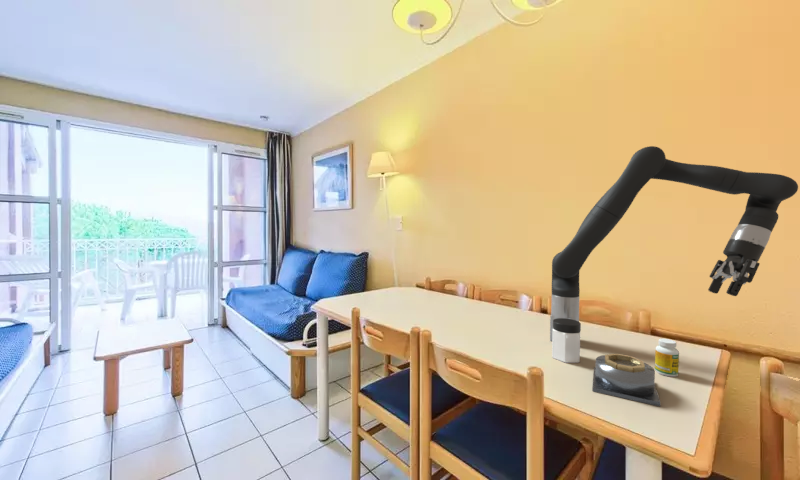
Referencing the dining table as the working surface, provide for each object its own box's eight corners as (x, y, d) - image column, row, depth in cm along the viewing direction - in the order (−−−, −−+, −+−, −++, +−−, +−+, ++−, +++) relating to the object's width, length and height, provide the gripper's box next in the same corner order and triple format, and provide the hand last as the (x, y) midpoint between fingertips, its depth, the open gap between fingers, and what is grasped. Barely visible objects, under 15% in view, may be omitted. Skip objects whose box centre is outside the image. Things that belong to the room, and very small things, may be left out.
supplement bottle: (658, 367, 99) (659, 336, 98) (681, 374, 94) (682, 341, 94) (651, 371, 96) (652, 339, 96) (674, 379, 92) (675, 345, 91)
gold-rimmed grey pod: (592, 391, 85) (592, 364, 85) (593, 370, 97) (594, 346, 97) (660, 406, 78) (661, 377, 78) (652, 382, 90) (653, 356, 89)
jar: (573, 352, 111) (573, 317, 110) (586, 363, 102) (587, 325, 102) (546, 352, 111) (547, 318, 110) (558, 363, 103) (558, 325, 102)
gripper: (716, 239, 103) (693, 286, 103) (749, 235, 89) (722, 289, 90) (744, 249, 100) (720, 297, 101) (782, 247, 87) (754, 302, 88)
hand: (721, 293), depth 95 cm, fingers open, 8 cm apart
